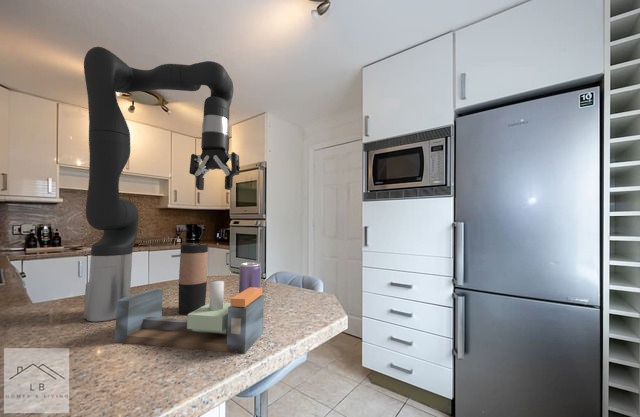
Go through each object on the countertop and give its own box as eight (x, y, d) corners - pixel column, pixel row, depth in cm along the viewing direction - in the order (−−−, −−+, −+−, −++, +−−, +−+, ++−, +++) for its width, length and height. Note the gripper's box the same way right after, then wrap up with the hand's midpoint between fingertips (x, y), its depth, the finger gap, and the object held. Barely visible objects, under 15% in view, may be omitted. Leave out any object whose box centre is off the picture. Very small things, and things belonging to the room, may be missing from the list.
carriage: (186, 334, 55) (188, 286, 55) (210, 318, 64) (212, 277, 64) (221, 337, 54) (223, 287, 54) (240, 321, 62) (242, 278, 63)
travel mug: (176, 317, 72) (180, 245, 73) (177, 308, 78) (180, 243, 80) (206, 313, 75) (209, 244, 76) (205, 305, 82) (207, 242, 83)
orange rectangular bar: (230, 306, 53) (230, 298, 54) (249, 293, 63) (249, 287, 63) (244, 307, 53) (245, 299, 53) (261, 294, 62) (262, 287, 63)
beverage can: (254, 322, 68) (255, 266, 69) (233, 320, 70) (235, 265, 71) (263, 314, 74) (264, 262, 75) (244, 313, 76) (246, 261, 76)
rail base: (113, 342, 56) (115, 300, 57) (150, 324, 66) (152, 288, 67) (244, 354, 52) (245, 309, 52) (262, 332, 62) (263, 295, 63)
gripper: (244, 138, 77) (242, 191, 76) (201, 139, 79) (199, 191, 78) (232, 129, 70) (230, 187, 69) (185, 131, 72) (182, 188, 71)
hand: (213, 189), depth 74 cm, fingers open, 8 cm apart
